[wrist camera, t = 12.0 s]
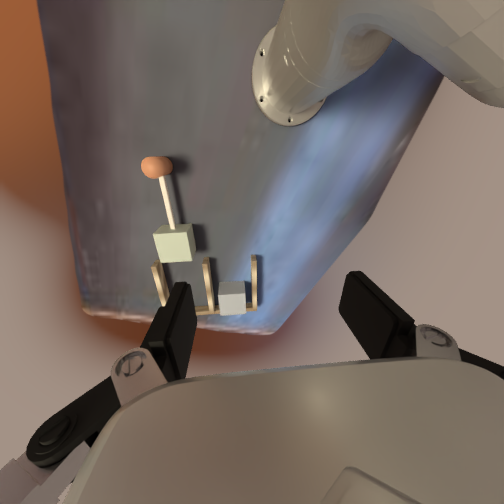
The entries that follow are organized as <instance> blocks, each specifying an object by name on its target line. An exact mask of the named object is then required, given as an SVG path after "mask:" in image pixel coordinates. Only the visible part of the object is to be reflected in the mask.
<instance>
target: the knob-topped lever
mask: <svg viewBox="0 0 504 504" xmlns="http://www.w3.org/2000/svg"><path fill="white" fill-rule="evenodd" d="M141 168H142V171H143V173H144V174H145V175H146V176H148V177H149V178H158V177H159V181H160V185H161V190H162V194H163V198H164V202H165V207H166V211H167V215H168V220H169V224H170V225H161V226H160V227H159V228H158V230H157V231H156V232H155V233H154V234H153V237H154V240H155V244H156V247H157V251H158V254H159V258H160V262H161V263H167V262H182V261H192V260H193V257H194V255H195V252H196V245H195V239H194V234H193V228H192V223H191V224H175V220H174V216H173V211H172V207H171V202H170V197H169V193H168V188H167V184H166V179H165V175H167V174H170V173H171V172H172V170H173V165H172V162H171V161H170V160H169V159H168V158H167V157H164V156H160V157H146V158H145V159H143V161H142V163H141Z"/></svg>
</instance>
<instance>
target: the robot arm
mask: <svg viewBox="0 0 504 504" xmlns="http://www.w3.org/2000/svg"><path fill="white" fill-rule="evenodd" d="M393 39H395V40H397V41H398V42H399V43H401V44H402V45H403V46H404V47H406V48H407V49H408V50H409V51H411V52H412V53H413V54H416V55H419V56H420V57H422V58H423V59H424V60H425V61H427V62H428V63H429V64H430V65H432V66H433V67H434V68H435V69H437V70H438V71H439V72H441V73H442V74H443V75H444V76H446V77H447V78H448V79H449V80H451V81H452V82H453V83H455V84H456V85H457V86H459V87H460V88H461V89H463V90H464V91H465V92H467V93H468V94H469V95H471V96H472V97H474V98H476V99H477V100H479V101H480V102H483V103H485V104H488V105H491V106H495V107H501V108H504V0H285V2H284V5H283V8H282V11H281V14H280V17H279V20H278V23H277V25H276V26H275V27H273V28H272V29H271V30H270V31H269V32H268V33H267V34H266V35H265V37H264V38H263V40H262V41H261V43H260V45H259V47H258V49H257V52H256V55H255V58H254V62H253V68H252V88H253V94H254V97H255V100H256V102H257V104H258V106H259V108H260V110H261V111H262V112H263V114H264V115H265V116H266V117H267V118H268V119H269V120H271V121H272V122H274V123H276V124H279V125H282V126H295V125H298V124H301V123H303V122H305V121H307V120H309V119H310V118H311V117H313V116H314V115H315V114H316V113H317V112H318V110H319V109H320V108H321V107H322V105H323V104H324V102H325V100H326V98H327V96H328V95H330V94H332V93H333V92H335V91H337V90H338V89H340V88H342V87H343V86H345V85H346V84H348V83H350V82H351V81H352V80H354V79H356V78H357V77H359V76H360V75H362V74H363V73H364V72H366V71H367V70H368V69H369V68H371V67H372V66H373V65H374V64H375V63H376V62H377V60H378V59H379V58H380V57H381V56H382V55H383V53H384V52H385V51H386V49H387V48H388V46H389V45H390V43H391V41H392V40H393ZM260 53H262V54H263V56H260ZM260 99H262V100H263V102H260ZM319 101H320V102H319ZM288 119H290V122H288ZM339 313H340V315H341V316H342V318H343V319H344V321H345V322H346V323H347V325H348V327H349V328H350V330H351V331H352V333H353V334H354V336H355V337H356V339H357V340H358V342H359V343H360V345H361V346H362V348H363V349H364V351H365V352H366V354H367V355H368V357H369V358H370V360H361V361H348V362H337V363H326V364H315V365H305V366H295V367H284V368H273V369H263V370H253V371H244V372H233V373H225V374H216V375H208V376H199V377H192V378H186V379H185V377H186V373H187V368H188V363H189V358H190V354H191V349H192V345H193V340H194V335H195V331H196V326H197V316H196V311H195V306H194V301H193V296H192V290H191V285H190V284H187V282H176V283H175V284H174V287H173V289H172V291H171V293H170V296H169V298H168V300H167V302H166V304H165V306H161V307H160V308H159V309H158V311H157V313H156V315H155V317H154V319H153V321H152V324H151V326H150V328H149V330H148V332H147V334H146V336H145V338H144V340H143V342H142V345H141V346H140V348H135V349H132V350H130V351H127V352H126V353H124V354H123V355H122V356H120V357H119V358H118V359H117V360H116V361H115V363H114V365H113V366H112V368H111V376H109V377H108V378H107V379H105V380H104V381H102V382H101V383H99V384H98V385H97V386H95V387H94V388H92V389H91V390H89V391H88V392H86V393H85V394H84V395H82V396H81V397H79V398H78V399H76V400H75V401H73V402H72V403H70V404H69V405H67V406H66V407H65V408H63V409H62V410H60V411H59V412H57V413H56V414H54V415H53V416H52V417H50V418H49V419H48V420H47V421H45V422H44V423H43V424H42V425H41V426H40V428H38V429H37V431H36V432H35V433H34V435H33V436H32V438H31V439H30V441H29V443H28V446H27V450H26V451H25V452H24V453H23V454H22V455H21V456H20V457H19V458H18V459H17V460H15V459H12V460H10V461H9V462H8V463H7V464H6V465H5V466H4V467H3V468H2V469H1V470H0V504H57V503H58V501H60V500H59V499H58V497H59V496H60V495H61V493H62V492H63V491H64V490H65V489H66V487H67V486H68V485H69V484H70V483H72V482H73V483H72V485H71V487H70V489H69V491H68V493H67V495H66V497H65V499H64V501H63V503H62V504H504V366H501V365H499V364H496V363H494V362H491V361H489V360H486V359H484V358H481V357H479V356H477V355H474V354H472V353H469V352H467V351H464V350H462V349H459V348H458V345H457V343H456V341H455V340H454V339H453V337H452V336H450V335H449V334H448V333H447V332H445V331H443V330H441V329H439V328H437V327H435V326H431V325H426V324H422V325H418V326H416V325H415V324H414V321H415V320H414V319H413V318H412V317H410V315H408V314H407V313H406V312H405V311H404V310H403V309H402V308H401V307H400V306H398V305H397V304H396V303H395V302H394V301H393V300H392V299H391V298H390V297H389V296H388V295H387V294H386V293H384V292H383V291H382V290H381V289H380V288H379V287H378V286H377V285H376V284H375V283H374V282H372V281H371V280H370V279H369V278H368V277H367V276H366V275H365V274H364V273H363V272H361V271H351V272H349V274H347V275H346V279H345V283H344V287H343V292H342V296H341V300H340V304H339Z"/></svg>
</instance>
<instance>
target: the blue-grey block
mask: <svg viewBox="0 0 504 504" xmlns="http://www.w3.org/2000/svg"><path fill="white" fill-rule="evenodd" d="M218 299H219V308H220V316H222V315H236V314H246V298H245V284H244V281H231V282H219V291H218Z"/></svg>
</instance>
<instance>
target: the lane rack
mask: <svg viewBox="0 0 504 504" xmlns="http://www.w3.org/2000/svg"><path fill="white" fill-rule="evenodd" d="M202 265H203V272H204V278H205V285H206V292H207V298H208V305H209V306H196V307H195V311H196V315H205V314H219V313H220V308H219V305H215V301H214V293H213V286H212V278H211V271H210V263H209V257H204V260H203V263H202ZM151 269H152V272H153V276H154V279H155V283H156V286H157V290H158V293H159V296H160V300H161V303H162V306H165V304H166V302H167V300H168V298H169V296H170V294H169V290H168V286H167V282H166V278H165V274H164V271H163V267H162V263H161V262H160V260H156V261H155V262H154V264H153V265H152V266H151ZM251 282H252V303H246V311H257V260H256V256H255V255H251Z"/></svg>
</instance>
